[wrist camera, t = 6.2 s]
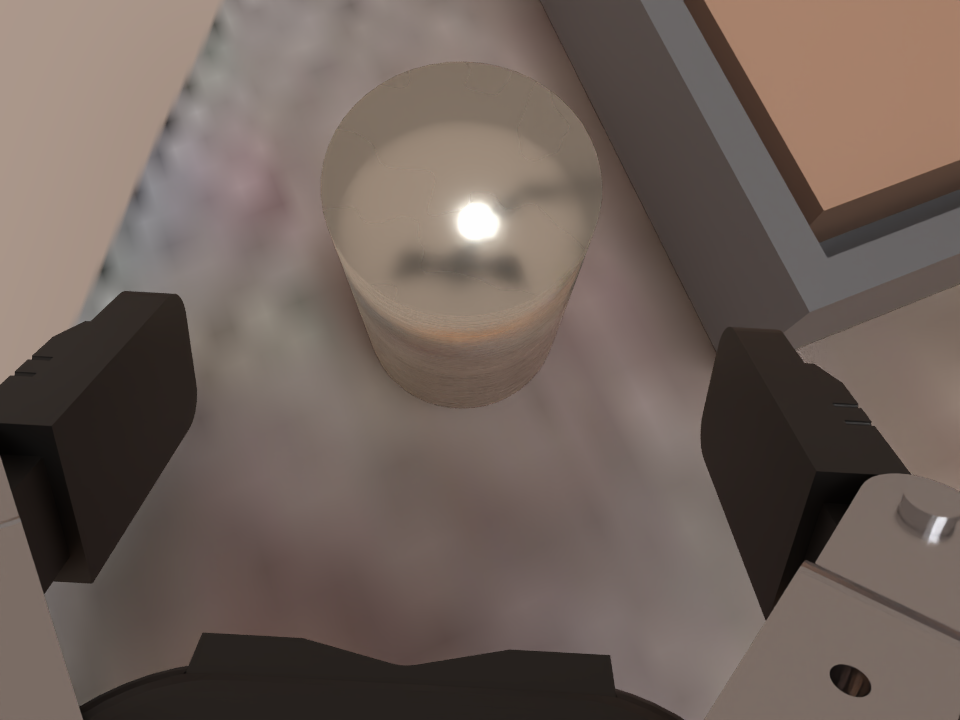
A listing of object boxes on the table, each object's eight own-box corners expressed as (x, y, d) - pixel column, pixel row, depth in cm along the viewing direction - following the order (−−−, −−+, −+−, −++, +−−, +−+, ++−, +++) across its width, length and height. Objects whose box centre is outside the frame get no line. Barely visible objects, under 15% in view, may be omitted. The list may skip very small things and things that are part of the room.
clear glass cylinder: (512, 207, 24) (536, 28, 16) (585, 367, 23) (648, 255, 15) (342, 267, 23) (283, 111, 16) (407, 436, 22) (376, 357, 14)
